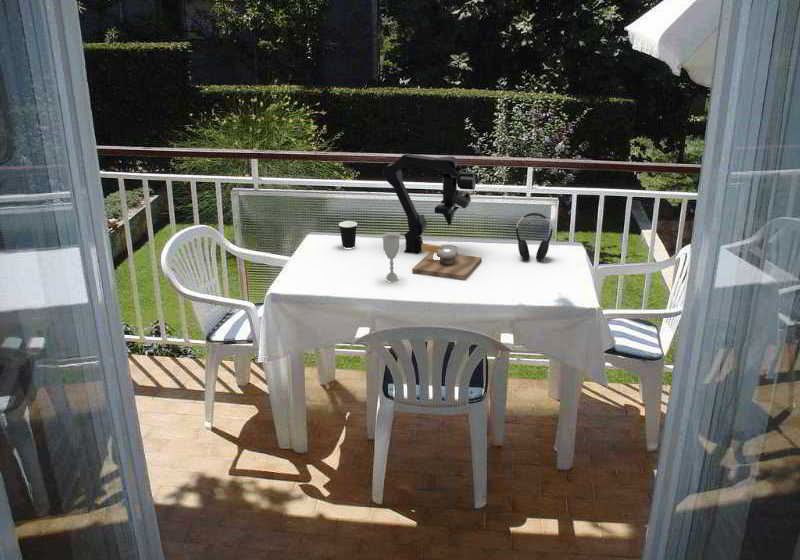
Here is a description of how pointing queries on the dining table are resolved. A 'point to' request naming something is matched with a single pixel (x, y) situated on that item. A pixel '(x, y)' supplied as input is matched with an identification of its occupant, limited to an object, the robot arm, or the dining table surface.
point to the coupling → (441, 250)
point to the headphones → (542, 248)
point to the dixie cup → (348, 233)
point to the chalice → (391, 251)
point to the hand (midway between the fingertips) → (449, 224)
